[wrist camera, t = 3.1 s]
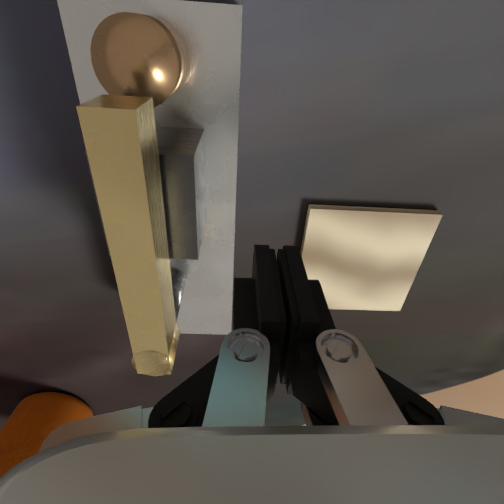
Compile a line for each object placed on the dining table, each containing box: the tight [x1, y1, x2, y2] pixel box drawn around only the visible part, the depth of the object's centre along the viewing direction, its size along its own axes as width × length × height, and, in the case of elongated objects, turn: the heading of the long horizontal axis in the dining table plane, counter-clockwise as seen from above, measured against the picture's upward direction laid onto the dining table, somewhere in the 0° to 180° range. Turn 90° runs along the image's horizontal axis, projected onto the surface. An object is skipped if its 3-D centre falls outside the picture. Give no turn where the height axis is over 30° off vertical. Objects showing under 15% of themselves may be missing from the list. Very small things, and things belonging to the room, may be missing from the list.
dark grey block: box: [84, 126, 206, 260], centre depth 19 cm, size 6×5×5 cm
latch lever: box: [76, 94, 180, 376], centre depth 16 cm, size 15×2×2 cm, turn 177°
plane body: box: [57, 0, 243, 335], centre depth 22 cm, size 24×9×9 cm, turn 177°
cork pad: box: [300, 204, 442, 311], centre depth 30 cm, size 11×11×1 cm
